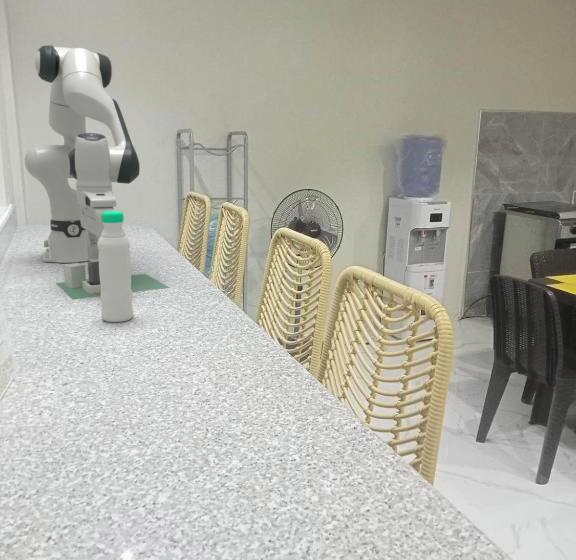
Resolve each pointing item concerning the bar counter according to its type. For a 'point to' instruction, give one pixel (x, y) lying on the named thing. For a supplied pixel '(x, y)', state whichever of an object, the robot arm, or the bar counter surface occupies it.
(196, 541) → the bar counter surface
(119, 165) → the robot arm
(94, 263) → the plug
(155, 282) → the board
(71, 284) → the plug
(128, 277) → the water bottle
